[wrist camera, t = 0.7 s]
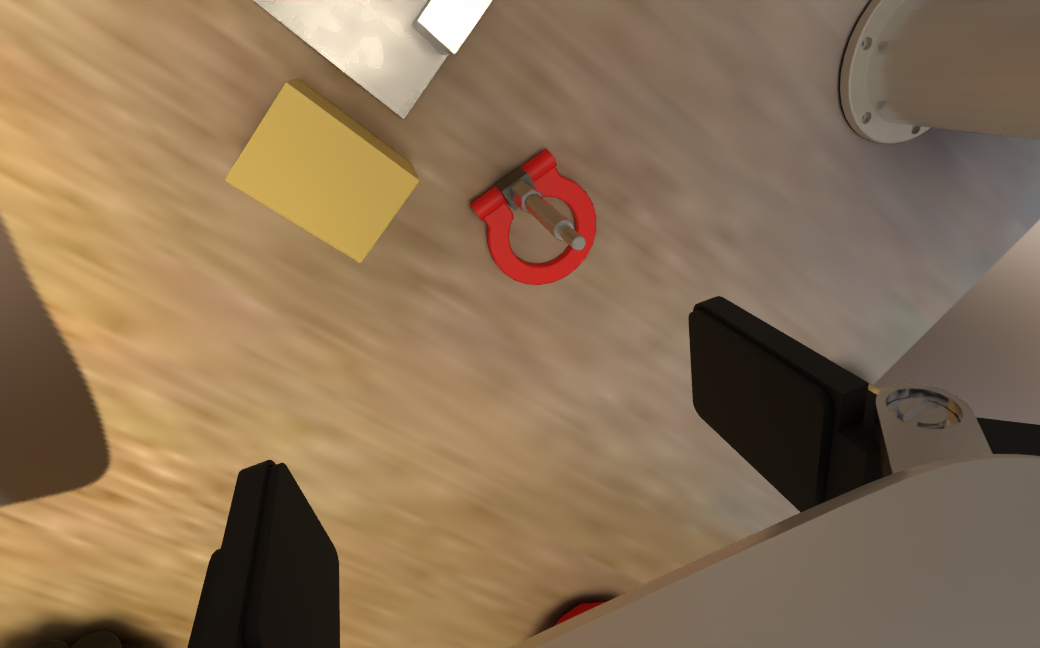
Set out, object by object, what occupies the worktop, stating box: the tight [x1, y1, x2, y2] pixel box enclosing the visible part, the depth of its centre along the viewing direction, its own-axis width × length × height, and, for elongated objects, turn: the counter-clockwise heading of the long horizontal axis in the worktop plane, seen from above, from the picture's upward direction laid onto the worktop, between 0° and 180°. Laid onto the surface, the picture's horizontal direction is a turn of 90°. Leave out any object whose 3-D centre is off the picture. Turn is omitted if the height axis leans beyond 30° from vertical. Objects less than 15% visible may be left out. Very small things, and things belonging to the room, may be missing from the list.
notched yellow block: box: [225, 79, 420, 263], centre depth 31 cm, size 6×8×6 cm
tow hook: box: [470, 149, 596, 285], centre depth 34 cm, size 8×13×9 cm
